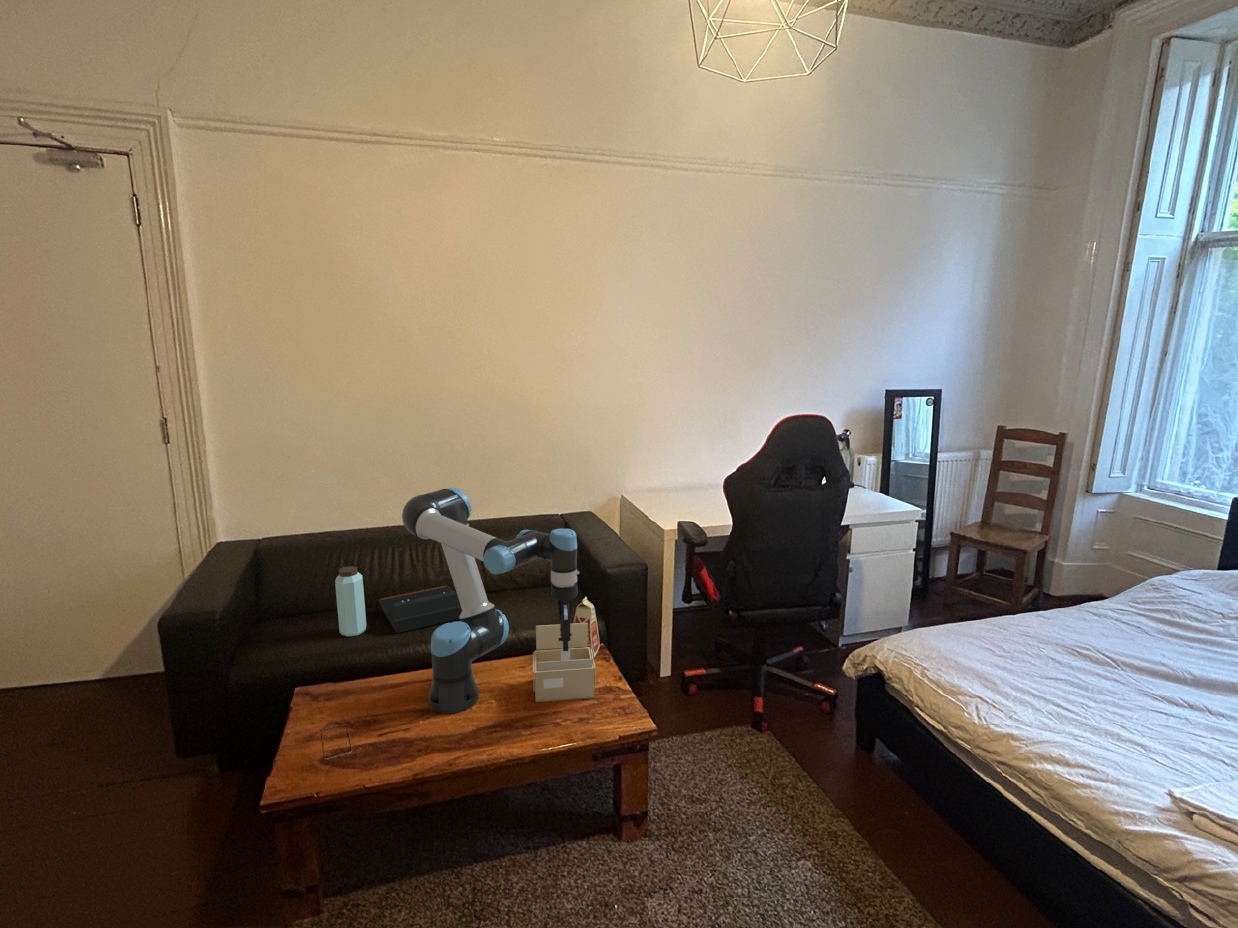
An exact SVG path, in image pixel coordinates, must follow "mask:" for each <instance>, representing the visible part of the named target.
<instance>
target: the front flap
mask: <svg viewBox="0 0 1238 928" xmlns="http://www.w3.org/2000/svg"><path fill="white" fill-rule="evenodd" d="M594 658H595V657H593V658H590V659H576V660H563V661H546V662H537V671H548V670H563V669H577V668H591V667H592V664H593V660H594ZM594 661H595V660H594Z"/></svg>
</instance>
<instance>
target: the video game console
mask: <svg viewBox="0 0 1238 928" xmlns="http://www.w3.org/2000/svg"><path fill="white" fill-rule="evenodd" d="M378 602H379V605H380V607H381V610H382V612H383V613H384V615H385V616H386V618H387V620H388V621H389V624H391V626H392V628H393V630H394V631H395V633H397V634H399V633H404V632H408V631H412V630H418V629H421V628H422V629H423V628H426V627H431V626H435V625H440V624H445V623H450V622H454V621H457V620H460V619H459V616H460V614H461V612H462V609H461V605H460V602H459V599H458V596H457V593H456V590H455V591H453V590H452V588H451V587H450V586H448V585H441V586H437V587H436V586H435V587H431V588H427V589H422V590H418V591H412V592H408V593H407V592H406V593H402V594H397V595H393V596H388V597H382V598H380V599H378Z"/></svg>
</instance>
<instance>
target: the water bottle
mask: <svg viewBox="0 0 1238 928" xmlns="http://www.w3.org/2000/svg"><path fill="white" fill-rule="evenodd" d="M363 579H364V577H363V574H361V573H360V572H358V567H357V566H354V565H351V566H344V567H341V568H339V569H338V575H337V576H336V578H335V581H334V584H335V596H336V608H337V615H338V616H337V617H338V619H337V620H338V630H339V634H341V635H342V636H345V637H354V636H359V635H361V634H363V633H365V632H366V630H367V616H366V604H365V592H364V580H363Z"/></svg>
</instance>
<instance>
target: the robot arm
mask: <svg viewBox="0 0 1238 928" xmlns="http://www.w3.org/2000/svg"><path fill="white" fill-rule="evenodd" d="M472 509H473V508H472V504H471V501H470V499H469V496H467V494H466V492H464V491H462V490H460V488H457V487H448V488H441V489H439V490H435V491H431V492H427V493H423V494H419V495H415V496H414V497H412V498H411V499H409V500H408V501H407V502H406V503H405V505H404V507H403V509H402V513H401V518H402V524H403V526H404V527H405V528H406V530H407V531H408V532H409V533H410V534H412V535H413V536H415V537H417V538H419V539H422V540H429V539H430V540H432V541H435V542H437V543H440V545H441V547H442V548H441V549H442V550H443V554H444V558H445V560H446V563H447V566H448V569H449V573H450V576H451V580H452V583H453V586H454V589H455V591H456V593H457V596H458V599H459V602H460V605H461V609H462V612H461V614H460V616H459V619H458V620H459V621H457V620H454V621H451V622H445V623H443V624H442V625H440V626H438V627H437V628H436V629H435V630H434V631H433V632H432V633H431V637H430V638H431V639H430V654H431V666H432V681H431V685H430V688H429V692H428V695H427V699H428V700H427V701H428V706H429V708H430V709H431V710H432V711H434V712H437V713H441V714H455V713H460V712H463V711H465V710H468V709H470V708H472V707H474V705H475V704H476V703H477V702H478V701H479V698H480V695H479V694H480V691H479V687H478V685H477V682H476V680H475V678H474V676H473V675H474V674H473V666H472V665H473V664H472V662H473V661H475V660H476V659H479V658H480V657H483V656H484V655H486V654H487V653H489V652H491V651H494V650H496V649H497V648H498V647H499V646H501V645H502V644H504V643H505V642H506V640H507V638H508V636H509V632H510V631H509V629H510V627H509V621H508V619H507V617H506V615H505V614H503V612H502V610H500V609H496V606H495V604H494V603H491V602H490V601H489V600H488V597H487V593H486V590H485V587H484V584H483V581H482V577H481V574H480V571H479V568H478V564H477V562H476V559H477V560H479V561H481V562H483V565H484V567H485V568H486V569H487V570H488V572H489V573H490V574H492V575H500V574H503V573H507V572H510V571H511V570H514V569H515V568H518V567H520V566H523V565H525V564H527V563H529V562H533V561H534V560H537V559H540V560H544V561H549V562H550V583H551V584H550V585H551V586H550V588H551V590H550V592H551V594H550V595H551V597H552V598H553V599H555V600H557V609H558V618H559V624H560V632H561V634H560V636H561V638H559V641H561V648H560V649H561V661H563V660H570V649H571V648H570V640H571V638H570V636H572V633H570V624H571V618H572V610H573V603H572V599H575V598H577V596H578V595H579V594H578V583H577V582H578V575H580V571H579V570H578V565H577V564H578V562H577V560H578V540H577V533H576V532H575V531H574V530H573V529H571V528H563V527H562V528H561V527H560V528H556V529H553V530H551V532H550V533H546V532H541V531H538V530H534V529H523V530H521V531H519V533H518V534H516V536H515V538H514V539H511V540H507V541H506V540H503V539H501V538H499V537H495V536H493V535H491V534H488V533H485V532H483V531H480V530H478V529H476V528H473V527H470V523H469V518H470V517H471V515H472Z"/></svg>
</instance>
